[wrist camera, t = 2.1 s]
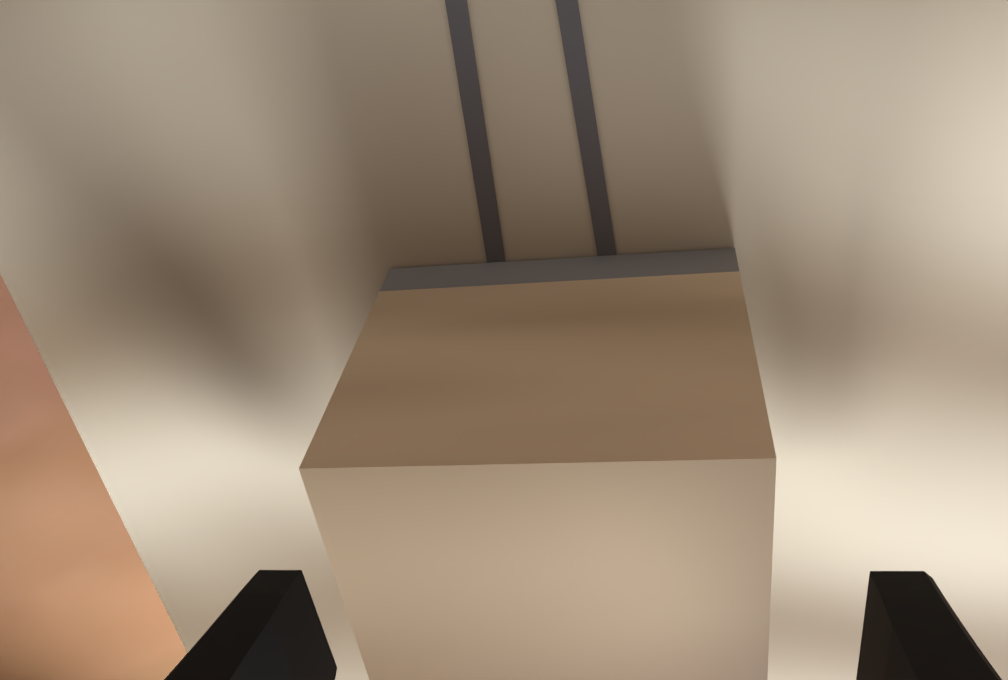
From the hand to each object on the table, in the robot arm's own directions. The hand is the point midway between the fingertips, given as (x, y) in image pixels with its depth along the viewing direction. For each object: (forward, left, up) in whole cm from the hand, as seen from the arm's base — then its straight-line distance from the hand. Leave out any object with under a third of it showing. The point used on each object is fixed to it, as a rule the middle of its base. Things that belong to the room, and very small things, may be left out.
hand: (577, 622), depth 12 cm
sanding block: (0, 0, -3) cm, 3 cm away
